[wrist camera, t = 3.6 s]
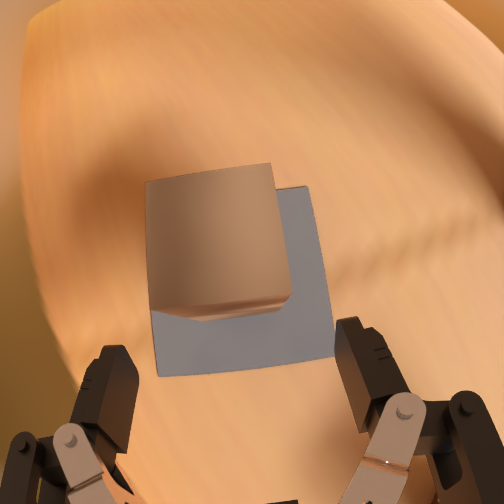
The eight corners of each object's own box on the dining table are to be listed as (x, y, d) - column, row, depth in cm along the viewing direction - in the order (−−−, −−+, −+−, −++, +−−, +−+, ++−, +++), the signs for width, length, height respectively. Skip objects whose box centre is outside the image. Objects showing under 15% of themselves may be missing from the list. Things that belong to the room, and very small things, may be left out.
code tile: (307, 187, 23) (308, 186, 22) (337, 355, 20) (338, 355, 19) (146, 210, 23) (145, 209, 22) (158, 376, 20) (158, 376, 19)
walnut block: (267, 238, 22) (270, 162, 12) (278, 311, 20) (292, 292, 11) (194, 248, 22) (145, 182, 12) (202, 321, 20) (149, 309, 11)
